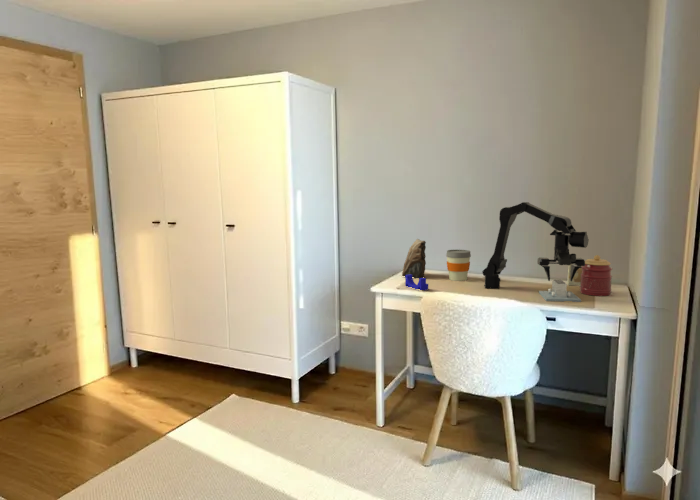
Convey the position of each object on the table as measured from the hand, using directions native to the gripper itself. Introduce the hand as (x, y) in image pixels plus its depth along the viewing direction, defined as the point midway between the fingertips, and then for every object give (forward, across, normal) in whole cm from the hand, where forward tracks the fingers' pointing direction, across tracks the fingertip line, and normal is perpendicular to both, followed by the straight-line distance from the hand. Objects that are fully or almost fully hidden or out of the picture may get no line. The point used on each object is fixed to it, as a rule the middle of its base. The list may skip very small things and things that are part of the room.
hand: (560, 281), depth 225 cm
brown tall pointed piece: (+7, -66, +42) cm, 79 cm away
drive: (+6, 0, 0) cm, 6 cm away
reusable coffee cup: (+8, -42, +37) cm, 57 cm away
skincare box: (+8, +14, +29) cm, 33 cm away
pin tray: (+7, 0, 0) cm, 7 cm away
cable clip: (+8, -63, +12) cm, 65 cm away
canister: (+8, +18, +10) cm, 22 cm away
